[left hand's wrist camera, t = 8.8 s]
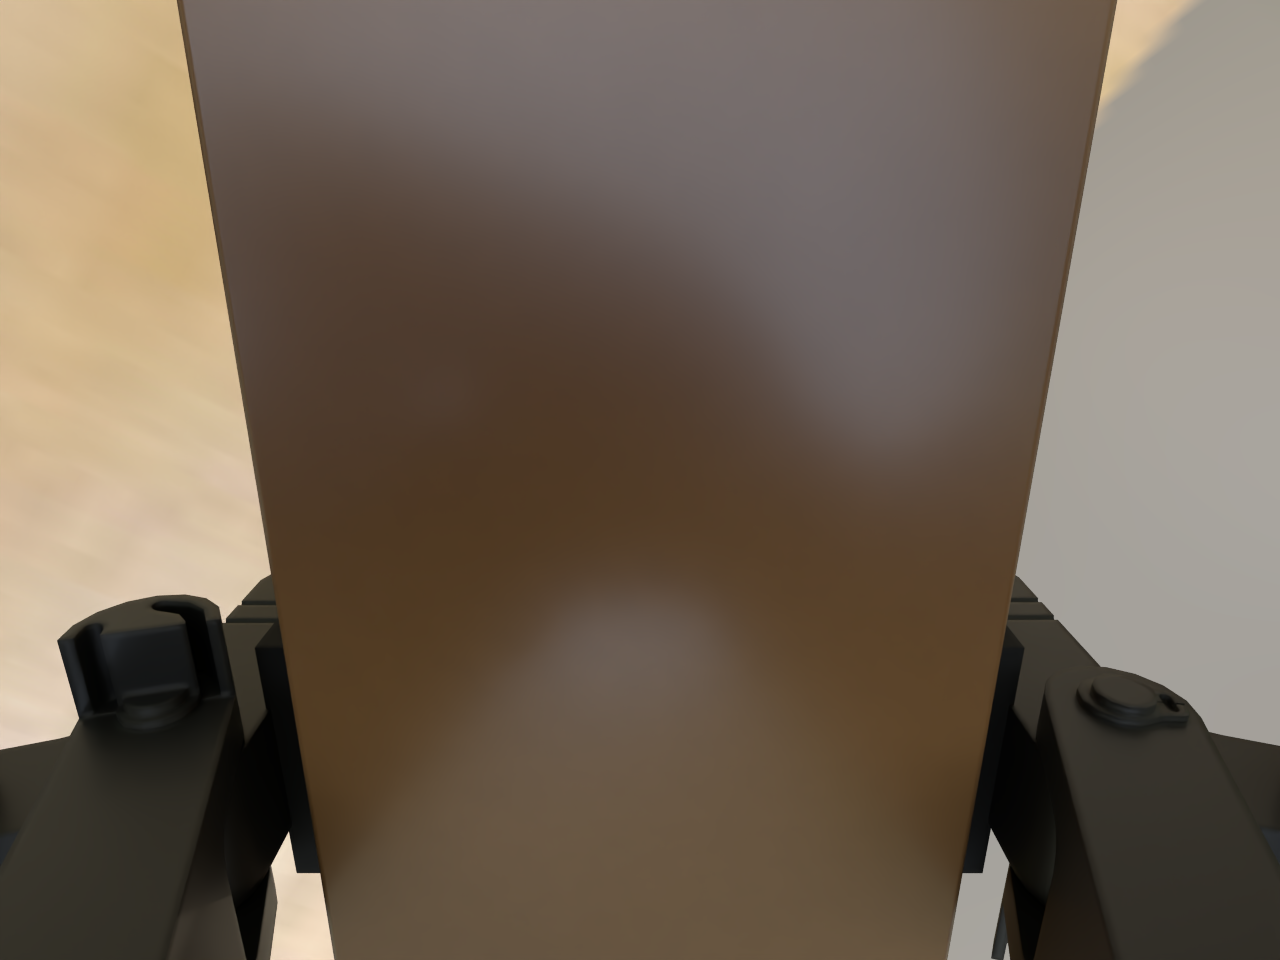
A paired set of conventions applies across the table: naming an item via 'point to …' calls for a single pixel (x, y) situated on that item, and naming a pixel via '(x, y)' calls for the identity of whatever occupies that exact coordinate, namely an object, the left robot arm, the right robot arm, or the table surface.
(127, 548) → the table surface
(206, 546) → the table surface
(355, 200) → the beam
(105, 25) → the table surface
